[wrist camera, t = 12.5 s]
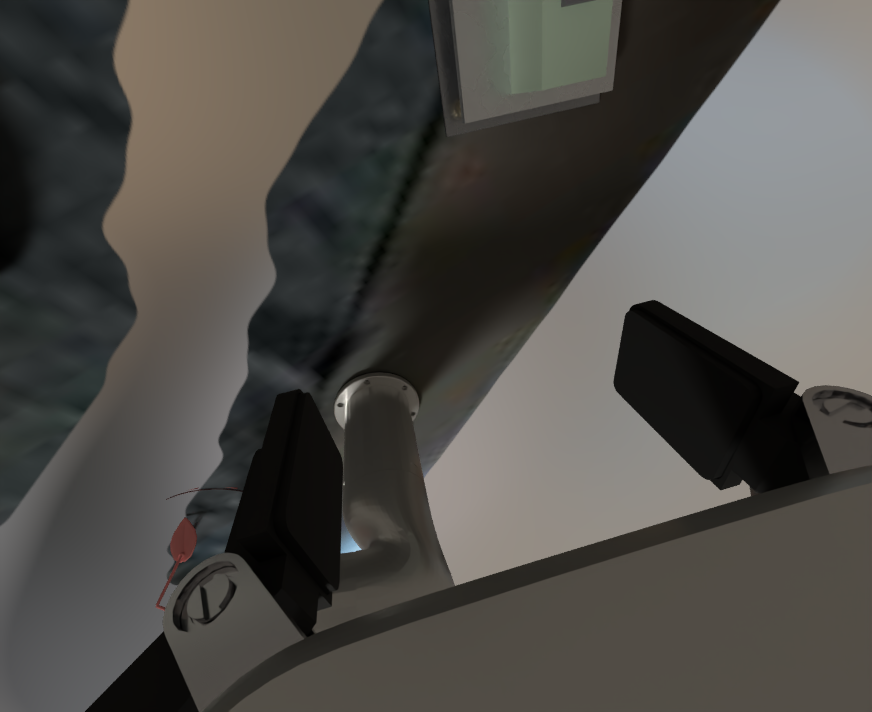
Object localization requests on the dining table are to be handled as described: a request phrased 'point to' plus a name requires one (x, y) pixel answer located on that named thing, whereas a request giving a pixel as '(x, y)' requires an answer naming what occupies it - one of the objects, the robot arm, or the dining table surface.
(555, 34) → the pale green block
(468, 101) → the chassis
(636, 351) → the robot arm
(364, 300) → the dining table surface
